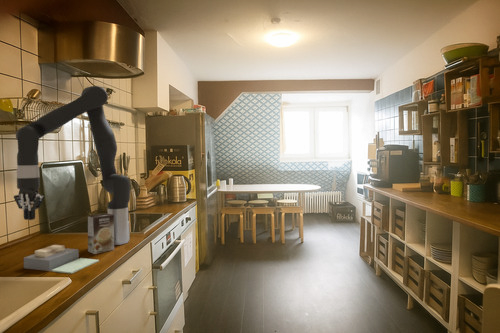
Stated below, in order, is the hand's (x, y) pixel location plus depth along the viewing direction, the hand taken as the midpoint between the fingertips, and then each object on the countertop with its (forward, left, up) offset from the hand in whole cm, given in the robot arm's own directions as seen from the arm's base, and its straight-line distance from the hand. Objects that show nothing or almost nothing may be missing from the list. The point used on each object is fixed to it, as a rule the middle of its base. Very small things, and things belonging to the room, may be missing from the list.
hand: (29, 219), depth 128 cm
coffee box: (-19, +18, -17) cm, 31 cm away
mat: (0, +23, -17) cm, 28 cm away
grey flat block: (0, +11, -17) cm, 20 cm away
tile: (0, +10, -13) cm, 16 cm away
